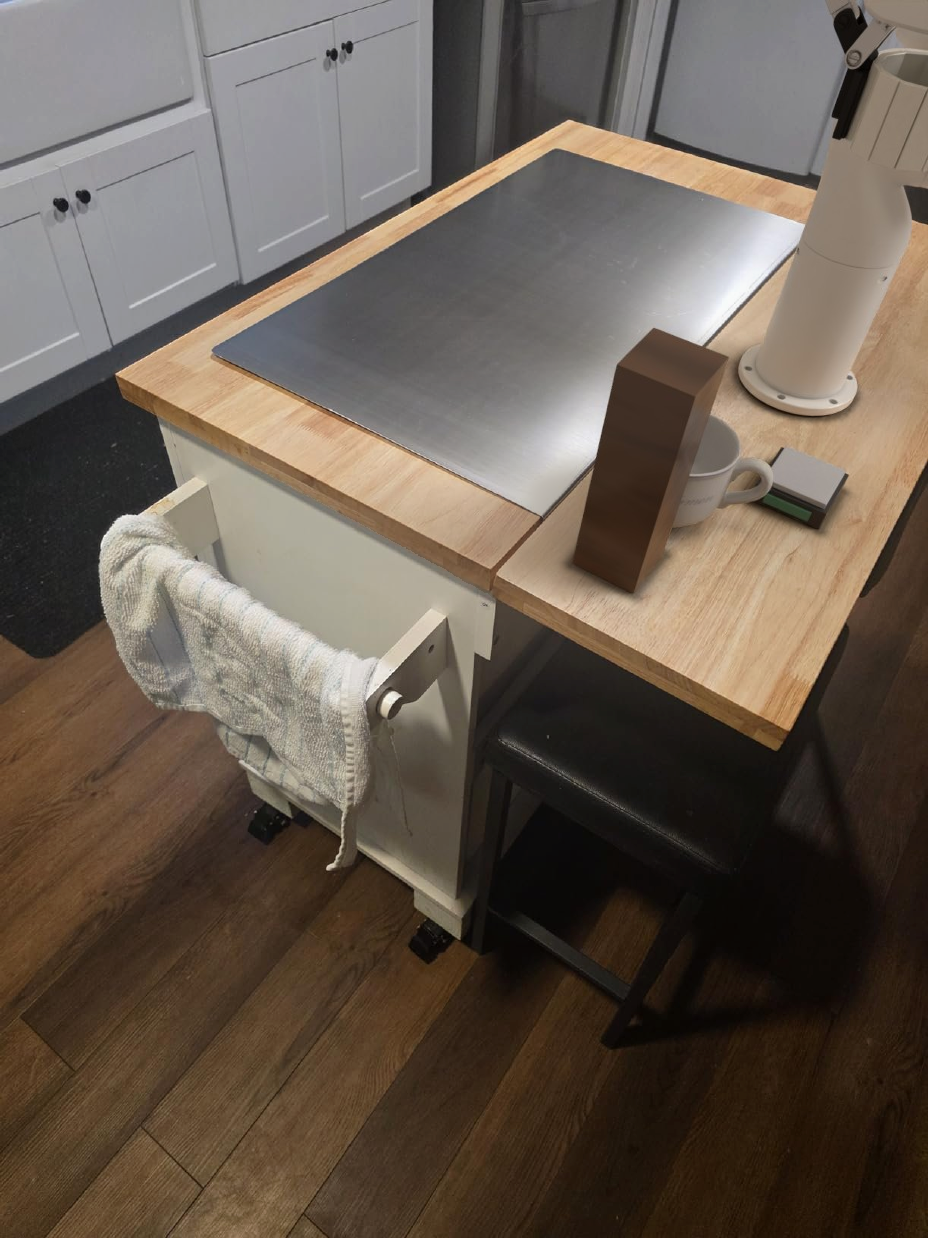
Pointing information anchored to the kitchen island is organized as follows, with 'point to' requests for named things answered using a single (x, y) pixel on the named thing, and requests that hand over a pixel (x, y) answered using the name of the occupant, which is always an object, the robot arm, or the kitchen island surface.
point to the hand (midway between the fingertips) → (897, 146)
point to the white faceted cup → (893, 113)
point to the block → (646, 455)
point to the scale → (803, 486)
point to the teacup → (719, 475)
